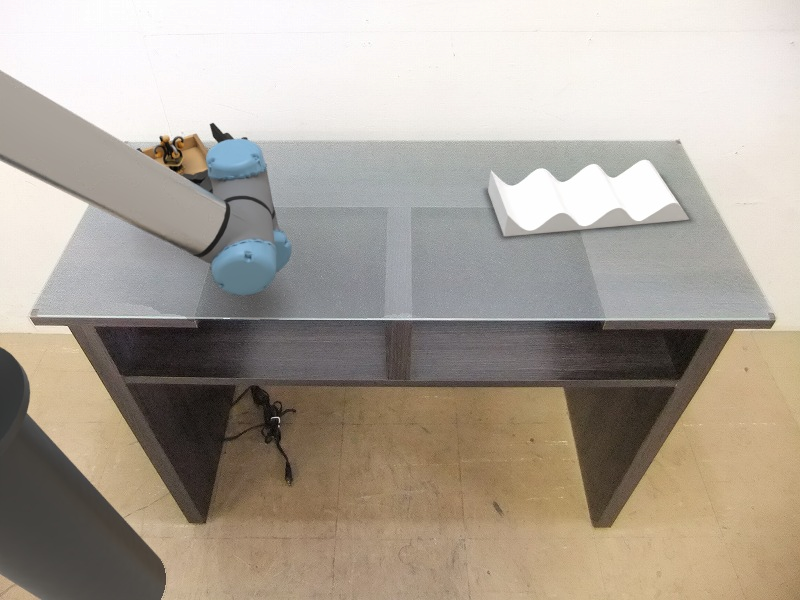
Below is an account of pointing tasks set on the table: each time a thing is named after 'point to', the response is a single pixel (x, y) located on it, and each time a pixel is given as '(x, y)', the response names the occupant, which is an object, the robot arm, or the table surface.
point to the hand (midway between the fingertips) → (177, 142)
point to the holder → (186, 154)
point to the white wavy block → (583, 200)
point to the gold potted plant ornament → (171, 153)
